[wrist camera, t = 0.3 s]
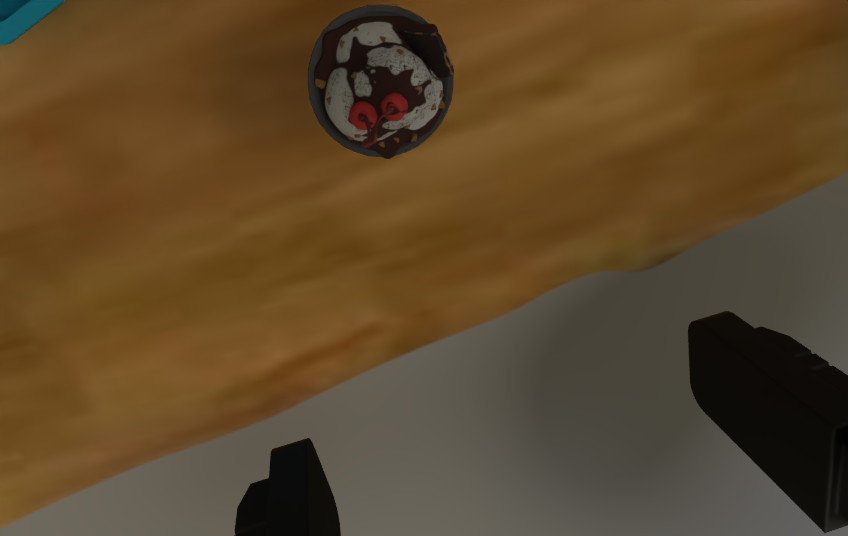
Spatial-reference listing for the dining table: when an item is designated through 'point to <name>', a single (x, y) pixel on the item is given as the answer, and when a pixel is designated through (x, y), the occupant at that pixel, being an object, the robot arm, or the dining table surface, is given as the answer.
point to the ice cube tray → (22, 16)
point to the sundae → (380, 80)
